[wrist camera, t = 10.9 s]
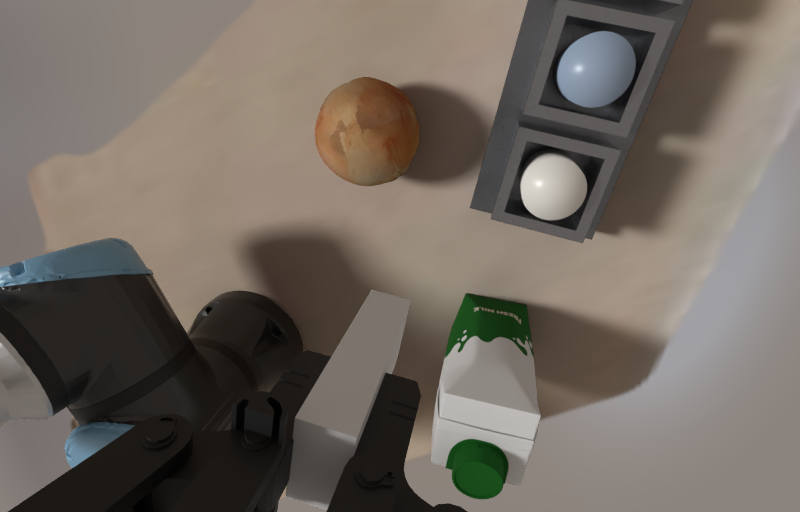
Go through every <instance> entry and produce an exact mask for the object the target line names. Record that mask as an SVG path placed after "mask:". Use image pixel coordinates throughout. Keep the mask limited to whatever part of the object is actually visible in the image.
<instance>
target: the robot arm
mask: <svg viewBox="0 0 800 512" xmlns="http://www.w3.org/2000/svg"><path fill="white" fill-rule="evenodd" d="M410 303H411V300H409V299H405V298H401V297H398V296H394V295H391V294H387V293H383V292H380V291H376V290H373V289H371V291H370V293H369V294H368V296H367V298H366V300H365V301H364V303H363V305H362V306H361V308H360V310H359V311H358V313H357V315H356V316H355V318H354V320H353V321H352V323H351V325H350V326H349V328H348V330H347V331H346V333H345V335H344V336H343V338H342V340H341V341H340V343H339V345H338V346H337V348H336V350H335V351H334V353H333V355H332V356H331V357H329V356H326V355H322V354H319V353H316V352H312V351H309V350H307V351H305V352H304V353H302V342H301V338H300V335H299V333H298V331H297V329H296V327H295V325H294V323H293V322H292V320H291V319H290V318H289V317H288V315H287V314H286V313H285V312H284V311H283V310H282V309H281V308H279V307H278V306H277V305H276V304H274V303H273V302H271V301H270V300H268V299H266V298H264V297H262V296H260V295H257V294H254V293H250V292H244V291H232V292H227V293H224V294H221V295H219V296H217V297H216V298H215V299H213V300H212V301H211V302H209V303H208V304H207V305H206V306H204V307H203V308H202V310H201V311H200V312H199V313H198V315H197V317H196V319H195V320H194V322H193V324H192V326H191V328H190V329H189V331H188V333H186V331H185V330H184V328H183V326H182V325H181V323H180V321H179V320H178V318H177V316H176V315H175V313H174V311H173V309H172V308H171V306H170V304H169V303H168V301H167V299H166V298H165V296H164V294H163V292H162V291H161V289H160V287H159V286H158V284H157V282H156V280H155V279H154V277H153V272H152V271H151V270H150V269H148V268H147V267H146V265H145V264H144V263H143V261H142V260H141V258H140V257H139V255H138V254H137V252H136V251H135V249H134V248H133V247H132V245H130V244H129V243H128V242H126V241H124V240H122V239H117V238H107V239H102V240H97V241H93V242H89V243H85V244H81V245H77V246H73V247H69V248H66V249H62V250H58V251H55V252H51V253H48V254H44V255H41V256H37V257H34V258H31V259H28V260H25V261H23V262H19V263H15V264H12V265H9V266H5V267H1V268H0V427H2V426H4V425H5V424H7V423H8V422H10V421H13V420H19V419H36V420H37V419H38V420H44V419H45V420H46V419H48V418H50V417H51V416H53V415H55V414H56V413H58V412H59V411H61V410H62V409H64V408H65V407H67V408H68V409H69V411H70V412H71V413H72V415H73V416H74V417H75V419H76V420H77V421H78V423H79V425H80V426H78V427H77V428H75V429H74V430H73V431H72V433H71V435H70V436H69V438H68V439H67V441H66V444H65V452H66V459H67V461H68V463H69V464H70V466H71V467H72V469H71V470H69V471H68V472H66V473H65V474H63V475H62V476H60V477H59V478H57V479H56V480H54V481H53V482H51V483H50V484H48V485H47V486H45V487H44V488H42V489H41V490H40V491H38V492H37V493H35V494H34V495H32V496H31V497H29V498H28V499H26V500H25V501H23V502H22V503H20V504H19V505H17V506H16V507H14V508H13V509H11V510H10V511H8V512H277V509H278V501H279V499H280V497H281V495H282V493H283V491H284V489H285V487H286V485H287V488H286V496H285V497H288V498H291V499H294V500H297V501H300V502H303V503H306V504H309V505H312V506H315V507H317V508H321V509H323V510H326V511H327V512H467V511H465V510H464V509H462V508H461V507H459V506H456V505H452V504H438V505H436V506H435V507H432V506H431V505H429V504H428V503H427V502H425V501H424V500H423V499H421V498H420V497H419V496H418V495H417V494H415V493H414V492H413V490H412V489H411V488H410V486H409V485H408V483H407V480H406V478H405V474H404V462H405V458H406V454H407V450H408V446H409V442H410V438H411V434H412V430H413V425H414V421H415V417H416V413H417V409H418V405H419V401H420V397H421V394H420V390H419V387H418V383H417V382H416V381H413V380H409V379H406V378H403V377H399V376H396V375H393V374H392V373H393V370H394V367H395V364H396V361H397V358H398V354H399V350H400V345H401V341H402V337H403V333H404V328H405V324H406V320H407V316H408V311H409V307H410Z"/></svg>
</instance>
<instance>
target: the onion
mask: <svg viewBox="0 0 800 512" xmlns="http://www.w3.org/2000/svg"><path fill="white" fill-rule="evenodd" d="M315 137H316V145H317V148H318V151H319V154H320V156H321V158H322V160H323V161H324V163H325V164H326V165H327V166H328V167H329V168H330V169H331V170H332V171H333V172H334V173H335V174H336V175H338V176H339V177H341V178H342V179H344V180H346V181H348V182H351V183H354V184H357V185H361V186H374V185H379V184H383V183H387V182H391V181H394V180H396V179H397V178H398V177H399V176H402V175H403V174H405V173H406V171H407V170H408V168H409V165H410V163H411V161H412V160H413V157H414V155H415V153H416V151H417V148H418V145H419V140H420V128H419V123H418V120H417V116H416V113H415V110H414V108H413V106H412V104H411V102H410V101H409V100H408V98H407V97H406V95H405V94H404V93H403V92H402V91H400V90H399V89H397V88H396V87H394V86H393V85H391V84H389V83H386V82H384V81H381V80H378V79H375V78H370V77H362V78H357V79H354V80H352V81H350V82H349V83H345V84H343V85H341V86H339V87H338V88H336V89H335V90H333V91H332V92H331V93H330V94H329V95H328V97H327V98H326V99H325V101H324V103H323V105H322V107H321V109H320V112H319V115H318V118H317V122H316V127H315Z"/></svg>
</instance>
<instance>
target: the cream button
mask: <svg viewBox="0 0 800 512" xmlns="http://www.w3.org/2000/svg"><path fill="white" fill-rule="evenodd" d="M519 178H520V188H521V196H522V200H523V203H524V205H525V207H526V208H527V209H528V211H529V212H530V213H532V214H533V215H535V216H536V217H538V218H541V219H545V220H559V219H563V218H565V217H568V216H570V215H571V214H573V213H574V212H575V211H576V210H577V209H578V208H579V207H580V206H581V205H582V203H583V201H584V199H585V197H586V193H587V182H586V178H585V176H584V174H583V172H582V171H581V169H580V168H579V167H578V165H577V164H576V163H575V162H574V160H573V159H572V158H571V157H570V156H569V155H568V154H567V153H565V152H563V151H561V150H557V149H545V150H541V151H538V152H536V153H534V154H533V155H531V156H530V157H529V158H528V159H527V160H526V161H525V163H524V164H523V166H522V168H521V171H520V177H519Z"/></svg>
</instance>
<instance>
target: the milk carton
mask: <svg viewBox="0 0 800 512" xmlns="http://www.w3.org/2000/svg"><path fill="white" fill-rule="evenodd" d="M540 418H541V415H540V411H539V407H538V401H537V387H536V377H535V367H534V357H533V349H532V341H531V333H530V326H529V320H528V313H527V305H523V304H518V303H513V302H507V301H502V300H497V299H492V298H487V297H482V296H477V295H472V294H467V293H466V294H465V297H464V299H463V302H462V304H461V307H460V309H459V312H458V314H457V317H456V319H455V322H454V324H453V326H452V329H451V333H450V336H449V340H448V344H447V349H446V353H445V358H444V363H443V367H442V372H441V377H440V382H439V388H438V390H437V396H436V403H435V410H434V420H433V430H432V451H431V462H432V463H433V464H437V465H441V466H446V468H448V469H451V470H453V471H452V480H453V483H454V485H455V487H456V488H457V489H458V490H459V491H460V492H462V493H463V494H465V495H467V496H469V497H472V498H475V499H489V498H492V497H495V496H496V495H498V494H499V493H500V492H501V490H502V488H503V483H505V482H507V483H510V484H513V485H517V486H519V485H520V484H521V481H522V478H523V475H524V472H525V469H526V466H527V463H528V459H529V456H530V453H531V451H532V449H533V446H534V442H535V439H536V435H537V430H538V425H539V421H540Z"/></svg>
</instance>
